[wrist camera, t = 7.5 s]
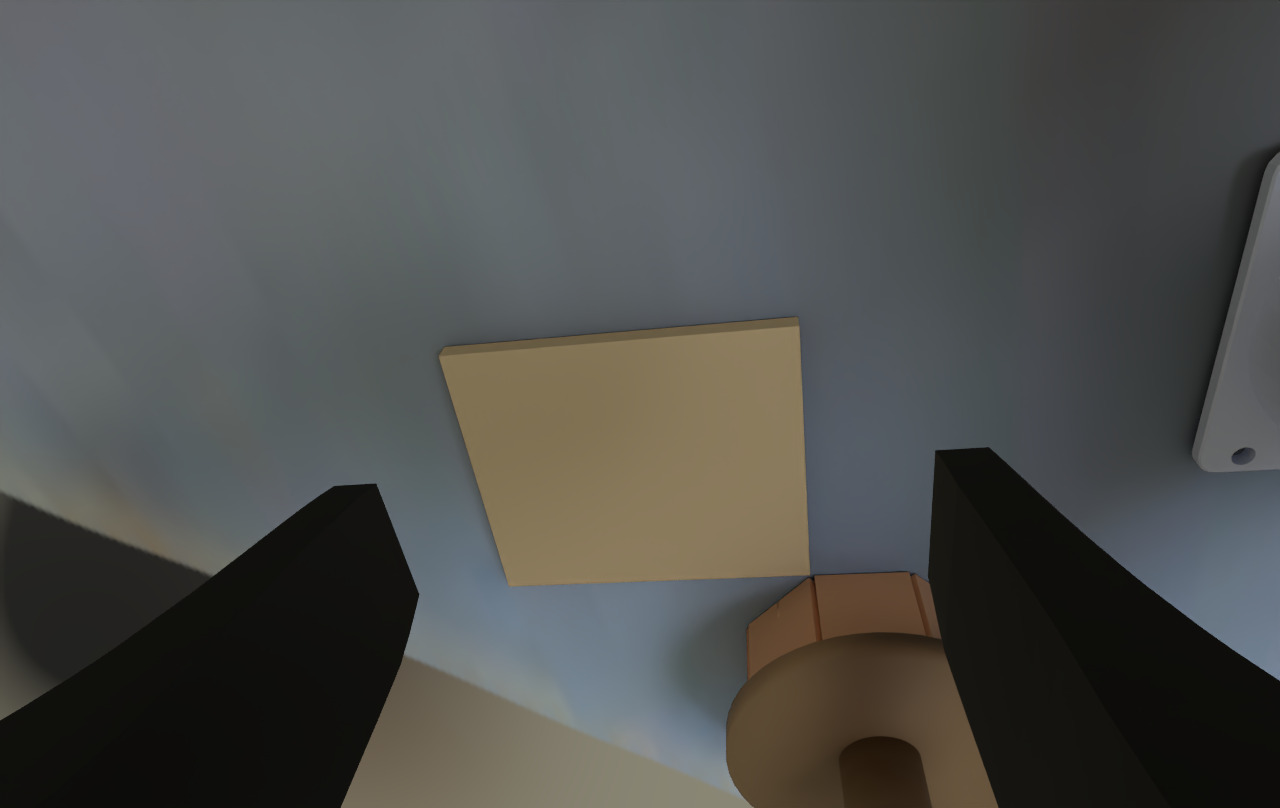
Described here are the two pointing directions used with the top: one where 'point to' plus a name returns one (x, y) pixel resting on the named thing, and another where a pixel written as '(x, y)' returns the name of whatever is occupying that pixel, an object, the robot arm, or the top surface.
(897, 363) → the top surface
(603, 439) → the mat
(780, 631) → the bowl
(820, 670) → the lid
